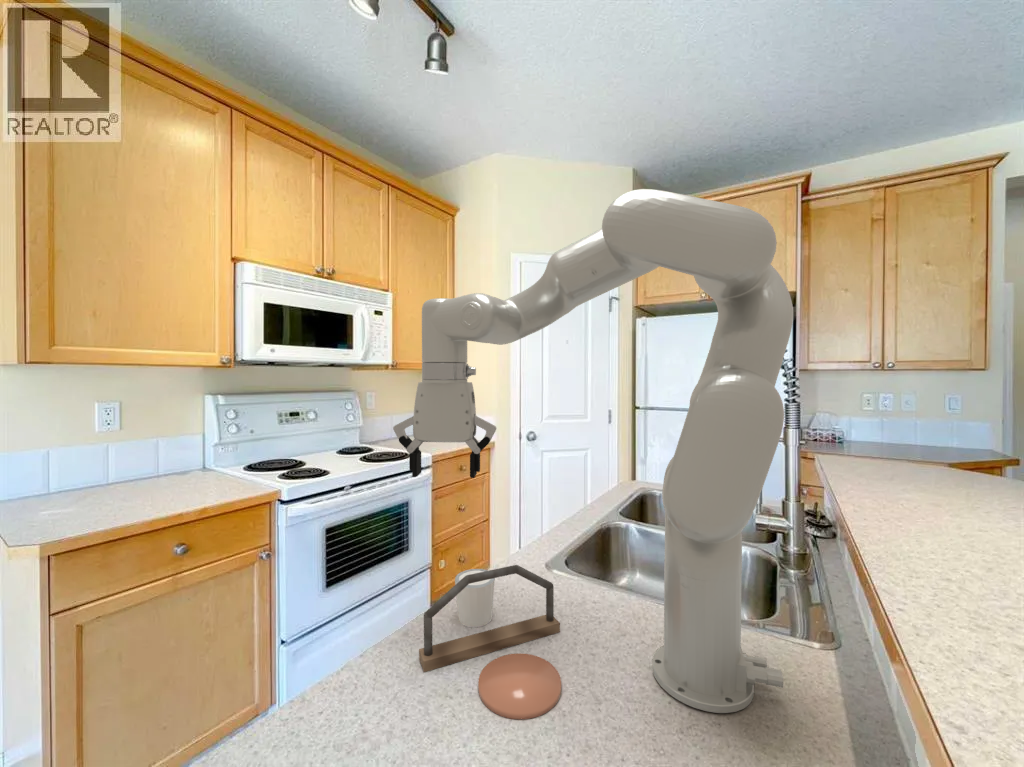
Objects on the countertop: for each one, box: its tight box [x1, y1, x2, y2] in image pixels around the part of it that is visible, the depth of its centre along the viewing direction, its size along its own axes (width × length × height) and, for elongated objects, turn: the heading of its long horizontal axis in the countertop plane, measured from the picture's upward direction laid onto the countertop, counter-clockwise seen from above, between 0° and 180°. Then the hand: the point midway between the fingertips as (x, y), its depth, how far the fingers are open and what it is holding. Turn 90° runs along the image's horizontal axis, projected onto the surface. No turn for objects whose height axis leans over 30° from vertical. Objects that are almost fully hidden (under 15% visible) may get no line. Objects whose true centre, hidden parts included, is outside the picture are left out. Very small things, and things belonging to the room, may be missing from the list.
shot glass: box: [454, 568, 496, 628], centre depth 74 cm, size 7×7×7 cm
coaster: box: [477, 652, 562, 720], centre depth 58 cm, size 11×11×1 cm
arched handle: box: [418, 564, 561, 673], centre depth 66 cm, size 22×3×12 cm, turn 115°
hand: (445, 475), depth 73 cm, fingers open, 9 cm apart
